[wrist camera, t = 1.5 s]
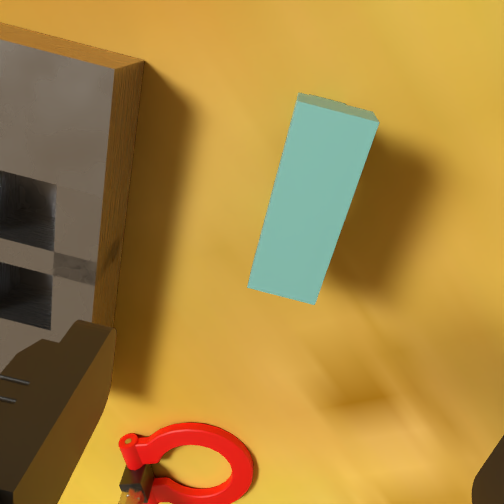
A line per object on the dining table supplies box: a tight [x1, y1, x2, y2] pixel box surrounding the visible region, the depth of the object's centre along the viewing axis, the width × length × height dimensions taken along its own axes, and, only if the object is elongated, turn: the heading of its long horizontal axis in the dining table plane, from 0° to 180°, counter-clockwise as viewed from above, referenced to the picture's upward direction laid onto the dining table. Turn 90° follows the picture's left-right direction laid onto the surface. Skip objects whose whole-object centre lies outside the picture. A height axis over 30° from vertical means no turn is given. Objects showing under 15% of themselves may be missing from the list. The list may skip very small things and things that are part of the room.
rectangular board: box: [0, 23, 144, 373], centre depth 26 cm, size 20×8×4 cm, turn 167°
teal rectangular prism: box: [247, 93, 379, 305], centre depth 22 cm, size 8×3×6 cm, turn 167°
